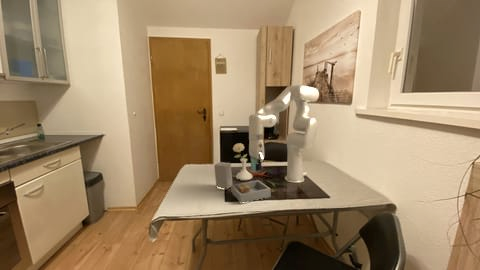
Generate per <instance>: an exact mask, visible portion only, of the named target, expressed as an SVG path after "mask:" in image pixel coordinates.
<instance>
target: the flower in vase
mask: <svg viewBox="0 0 480 270" xmlns="http://www.w3.org/2000/svg"><path fill="white" fill-rule="evenodd" d="M244 145H245V144H243V143H241V142H239V143H236V144H234V145H233V147H232V150H233V152H236V153H239V154H236V155H234V158H237V159H238V158H240V159H239V160H240V162H241V165H242V166H241V167H242V168H241V170H240V171H239V172H238V173H237V174H236V176H235V178H236V180H239V179H240V180H239V181H249V180H252V179H253V174H252V173H251V172H249V171H248V170H247V165H246V164H247V162H248V158H246V157H247V155H248V153H246V154H243V156H241V151H244V150H245V146H244Z"/></svg>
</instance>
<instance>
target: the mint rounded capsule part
mask: <svg viewBox="0 0 480 270" xmlns="http://www.w3.org/2000/svg"><path fill="white" fill-rule="evenodd" d="M258 158H260V157H258ZM259 160H260V159H258V161H259ZM251 163H252V168H251V172H253V173H259V172H260V171H256V164H257V163H256V158H254V157H253V158H250V164H251Z"/></svg>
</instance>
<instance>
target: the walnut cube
mask: <svg viewBox="0 0 480 270" xmlns="http://www.w3.org/2000/svg"><path fill="white" fill-rule="evenodd" d="M238 191H239V192H240V193H241V194H244V193H249V192H250V187H249V186H248V185H246V184H245V185H240V186H238Z"/></svg>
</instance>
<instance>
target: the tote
mask: <svg viewBox="0 0 480 270" xmlns="http://www.w3.org/2000/svg"><path fill="white" fill-rule="evenodd" d="M245 184H246V185H248V186H249V187H250V192H249V193H244V194H241V193H240V192H239V191H238V186H240V185H245ZM271 190H272V189H271V188H270V187H269V186H267V185H266V184H265V183H263V182H262V181H260V180H259V179H258V180H251V181H248V182H247V181H245V182H242V183H238V184H233V185H231V189H230V193H231V192H232V193H233V195H234V196H235V197H236V198H237V199H238V200H239V201H240V202H241V203H242V202H247V201H253V200H257V201H260V200H259V199H261V200H264V199H263V198H265V199H270V198H271V197H272V195H271V194H272V191H271ZM233 195H232V196H233ZM234 196H233V197H234ZM235 197H234V198H235ZM269 197H270V198H269ZM253 202H254V201H253Z"/></svg>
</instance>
